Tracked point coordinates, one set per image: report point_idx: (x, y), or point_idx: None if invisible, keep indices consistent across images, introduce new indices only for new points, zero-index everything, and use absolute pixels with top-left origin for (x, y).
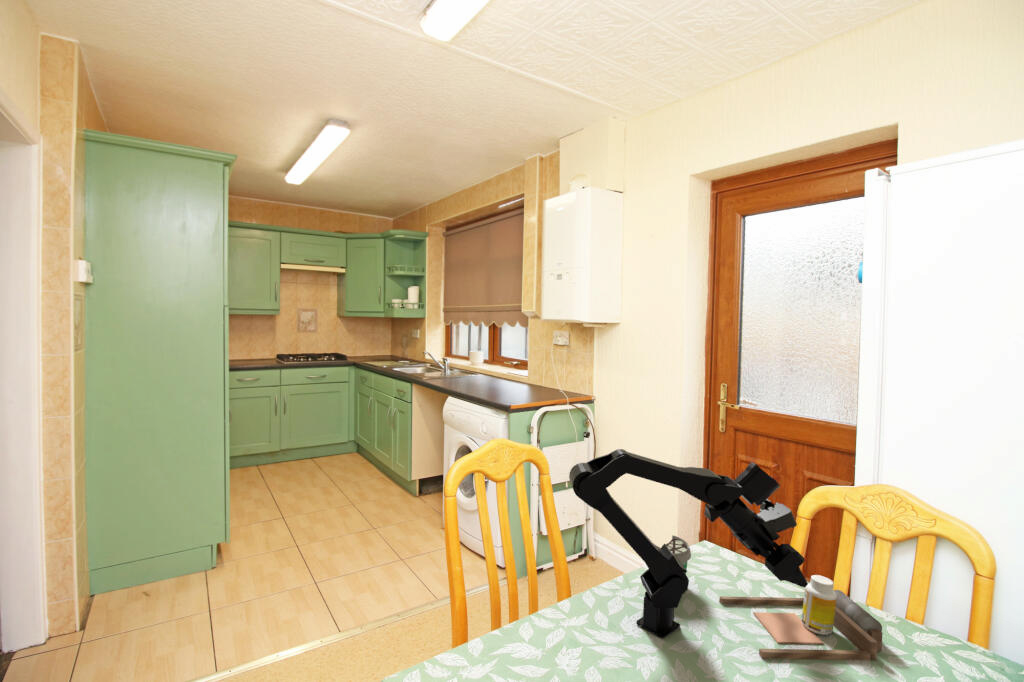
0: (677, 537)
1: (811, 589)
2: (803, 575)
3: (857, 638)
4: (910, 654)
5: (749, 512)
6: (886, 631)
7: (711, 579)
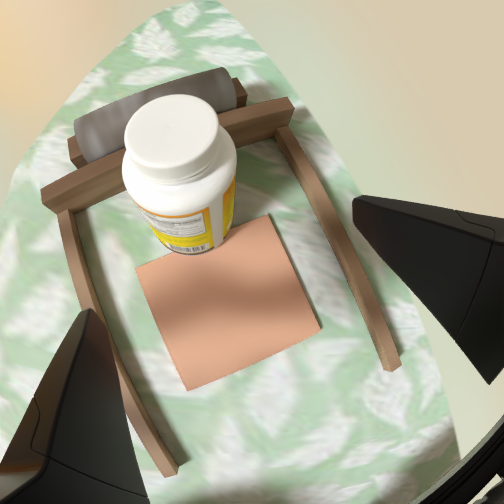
0: None
1: (204, 189)
2: (432, 206)
3: (246, 132)
4: None
5: None
6: (146, 86)
7: None
